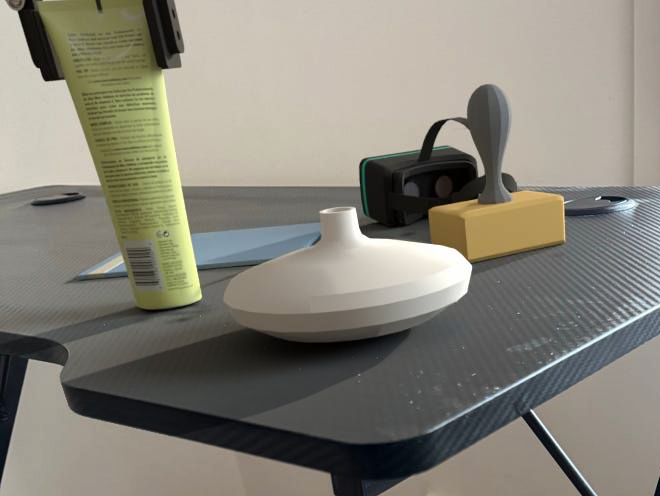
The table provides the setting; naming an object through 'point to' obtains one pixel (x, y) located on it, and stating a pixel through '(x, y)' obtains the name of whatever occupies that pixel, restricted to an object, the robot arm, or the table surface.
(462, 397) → the table surface
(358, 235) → the vase
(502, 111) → the rubber stamp
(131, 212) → the tube
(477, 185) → the virtual reality headset
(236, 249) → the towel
